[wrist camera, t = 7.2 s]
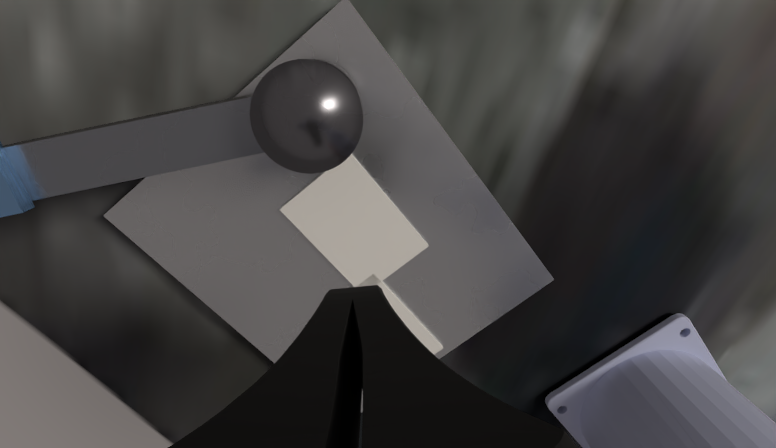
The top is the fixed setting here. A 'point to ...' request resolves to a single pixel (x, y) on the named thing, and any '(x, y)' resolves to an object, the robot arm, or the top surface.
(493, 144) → the top surface
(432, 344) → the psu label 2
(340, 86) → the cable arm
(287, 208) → the psu label
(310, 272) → the lid
